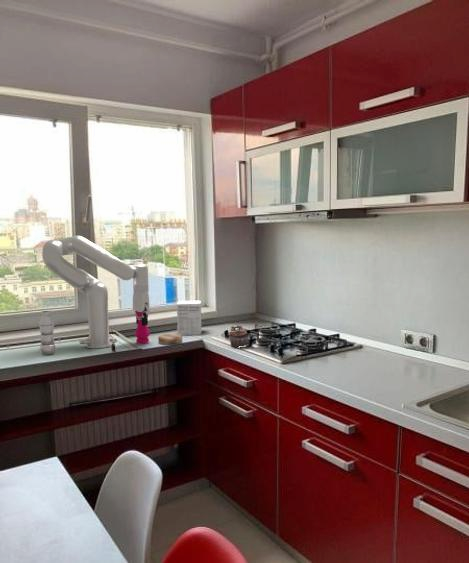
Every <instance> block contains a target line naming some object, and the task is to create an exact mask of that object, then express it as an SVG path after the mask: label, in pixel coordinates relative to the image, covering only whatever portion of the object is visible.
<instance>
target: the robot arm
mask: <svg viewBox="0 0 469 563" xmlns="http://www.w3.org/2000/svg"><path fill="white" fill-rule="evenodd" d="M74 254H76V255H78V256H80V257H81V258H83V259H85V260H87V261H89V262H90V263H92V264H94V265H96V266H97V267H99V268H101V269H104V270H105V271H107V272H109V273H111V274H112V275H114V276H116V277H118V278H119V279H121V280H123V281H129V280H132V284H133V285H132V288H133V293H132V310H133V311H134V313H135V322H136V325H138V319H137V314H136V310H137V311H138V312H142V318H141V319H142V326H144V325H147V326H148V325H149V320H148V318H149V313H150V295H149V267H148V265H146V264H134V265H133V264H128V263H126V262H124V261H122V260H121V259H119V258H117V257H116V256H114V255H112V254H111V253H110V252H109V251H107V250H105V249H104V248H102V247H101V246H99V245H97V244H96V243H94V242H92V241H90V240H89V239H87V238H86V237H83V235H77V234H76V235H74V236H69V237H64V238H63V237H62V238H58V239H57V238H56V239H49V240H47V241H46V242H45V243H44V244H43V247H42V260H43V263H44V266H45V267H47V269H48V270H49V272H51V273H53V274H54V275H55V276H56V277H59V279H61V280H63V281H64V282H65V283H66V284H68V285H70V287H72V288H73V289H76V290H78V291H79V292H81V293H82V294H85V295H86V296H87V297H86V298H87V318H88V320H87V321H88V336H87V337H86V339H81V340H80V339H79V342H78V343H79V345H85V347H86V348H88V349H106V348H110V347H112V346H113V345H114V344H113V342H112V341H110V327H109V326H110V322H109V302H108V301H109V291H108V288H107V286H106V285H105V284H104V283H103V282H101V281H100V280H99V279H97V278H95V276H92V275H91V274H90V273H88V272H87V271H85V270H84V269H82V268H78V267H77V266H75V265H74V264H72V263H71V262H70V261H68V260H66V259H65V258H64V257H63V256H70V255H74ZM144 310H146V311H144ZM145 312H146V313H145ZM112 344H113V345H112ZM111 345H112V346H111Z"/></svg>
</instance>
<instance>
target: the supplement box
mask: <svg viewBox="0 0 469 563" xmlns="http://www.w3.org/2000/svg"><path fill="white" fill-rule="evenodd" d="M176 316H177V322H176V323H177V334H179V335H182V336H199V335H202V301H201V300H178V302H177V303H176Z"/></svg>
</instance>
